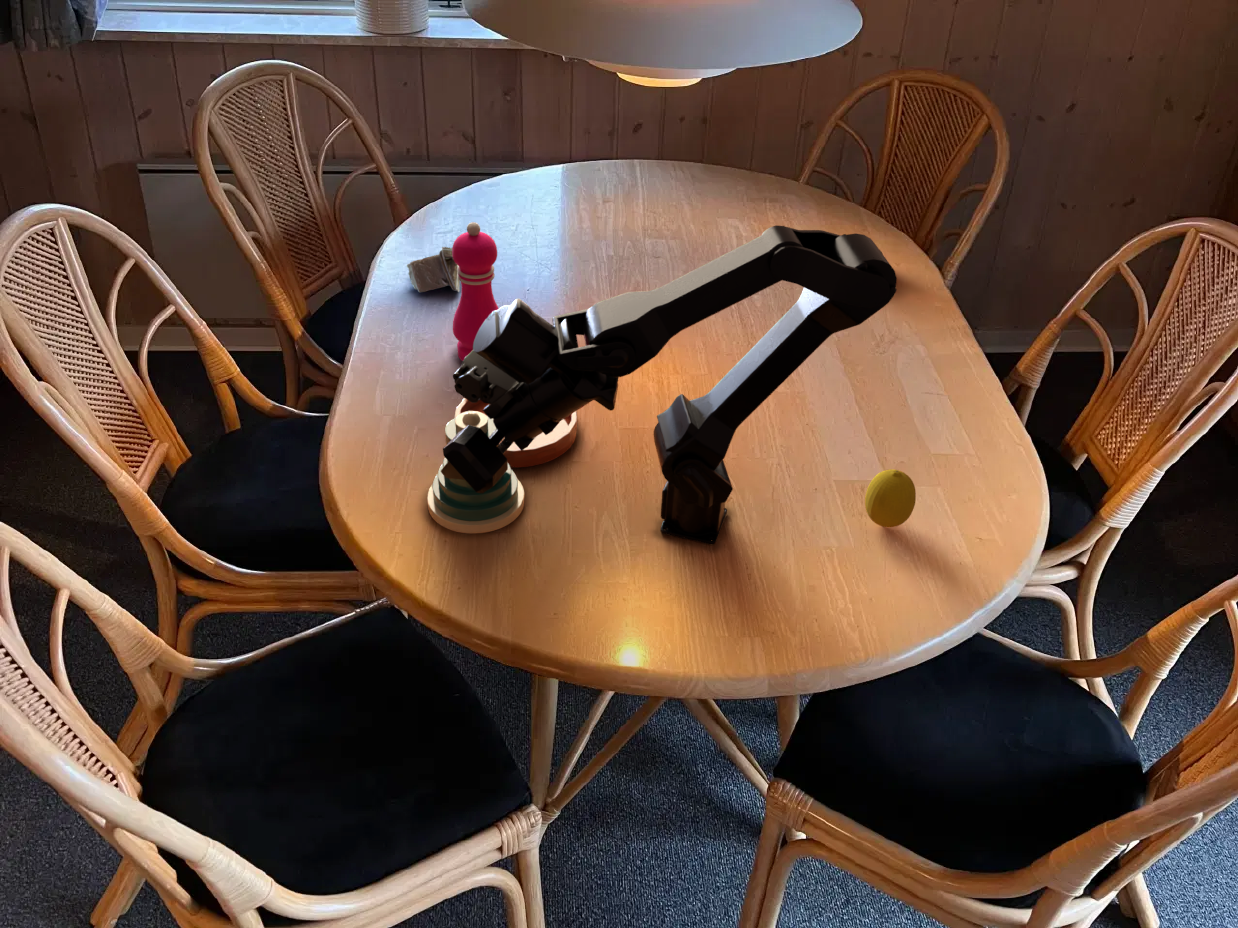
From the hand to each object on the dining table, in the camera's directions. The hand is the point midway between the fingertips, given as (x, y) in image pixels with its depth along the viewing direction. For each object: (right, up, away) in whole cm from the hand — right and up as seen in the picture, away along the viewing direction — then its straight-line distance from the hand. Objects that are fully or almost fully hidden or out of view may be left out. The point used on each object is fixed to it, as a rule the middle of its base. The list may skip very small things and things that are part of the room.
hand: (462, 453), depth 119 cm
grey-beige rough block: (-11, +41, +55) cm, 69 cm away
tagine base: (+5, +3, +15) cm, 16 cm away
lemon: (+48, -9, +3) cm, 49 cm away
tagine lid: (+1, -6, +4) cm, 7 cm away
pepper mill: (-2, +14, +30) cm, 34 cm away
